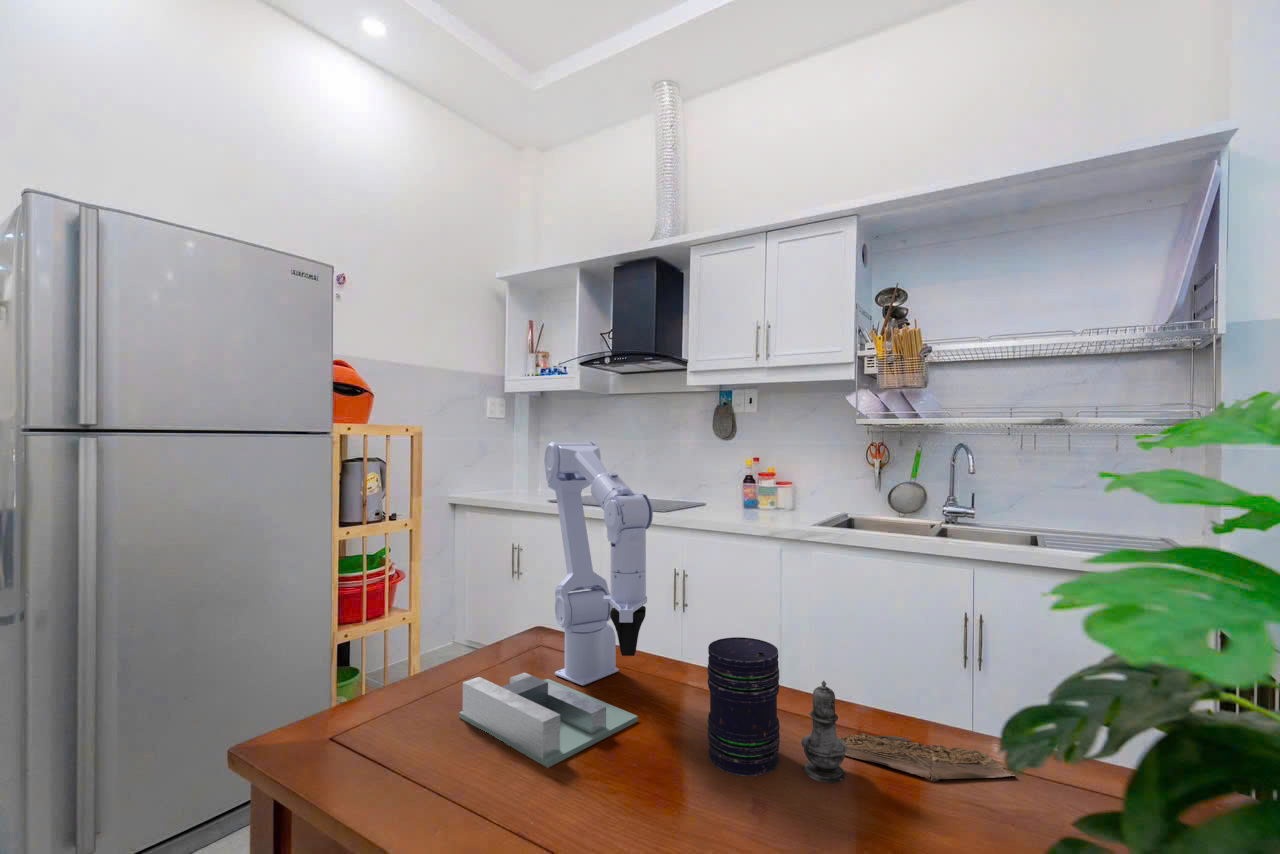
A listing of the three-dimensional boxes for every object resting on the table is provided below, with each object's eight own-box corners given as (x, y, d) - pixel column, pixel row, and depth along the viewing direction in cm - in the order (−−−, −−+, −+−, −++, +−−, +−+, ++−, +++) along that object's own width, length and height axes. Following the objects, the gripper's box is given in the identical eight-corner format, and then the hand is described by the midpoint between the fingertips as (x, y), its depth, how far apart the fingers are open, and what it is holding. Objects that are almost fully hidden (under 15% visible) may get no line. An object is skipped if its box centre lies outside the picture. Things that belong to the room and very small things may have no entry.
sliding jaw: (524, 689, 104) (524, 672, 104) (606, 726, 91) (606, 706, 91) (509, 695, 102) (510, 677, 102) (591, 734, 89) (591, 713, 89)
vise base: (547, 683, 109) (547, 650, 109) (637, 721, 95) (637, 683, 95) (459, 717, 96) (459, 680, 96) (547, 767, 81) (547, 724, 81)
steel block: (532, 706, 98) (532, 675, 98) (547, 714, 95) (548, 682, 95) (501, 719, 93) (501, 686, 94) (516, 727, 91) (516, 694, 91)
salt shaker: (823, 789, 76) (823, 693, 77) (792, 766, 82) (791, 676, 82) (857, 777, 79) (856, 684, 79) (824, 755, 84) (824, 669, 84)
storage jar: (693, 757, 84) (693, 649, 84) (733, 732, 91) (733, 632, 91) (755, 785, 77) (754, 667, 77) (793, 756, 84) (792, 648, 84)
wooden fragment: (1007, 758, 84) (1007, 751, 84) (1025, 802, 74) (1025, 794, 74) (815, 727, 93) (815, 720, 93) (807, 762, 83) (807, 755, 83)
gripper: (607, 560, 105) (607, 639, 105) (599, 580, 91) (599, 671, 90) (647, 560, 105) (647, 639, 105) (646, 580, 90) (646, 671, 90)
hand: (628, 654), depth 98 cm, fingers closed
